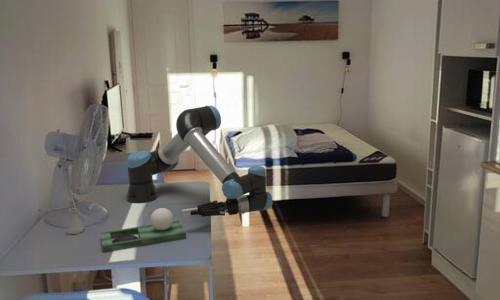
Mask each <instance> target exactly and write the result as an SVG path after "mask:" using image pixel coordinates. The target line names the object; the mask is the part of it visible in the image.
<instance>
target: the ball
mask: <svg viewBox="0 0 500 300" xmlns="http://www.w3.org/2000/svg"><path fill="white" fill-rule="evenodd" d="M173 221H174V215H173V213H172V211H170V209H168V208H165V207H160V208H157V209H155V210H154V211H153V212H152V214H151V215H150V223H151V224H150V225H152V226H153V227H154V228H155V229H157V230H166V229H168V228H169V227H170V226H171V225H172V223H173Z"/></svg>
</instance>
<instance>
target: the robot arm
mask: <svg viewBox="0 0 500 300" xmlns="http://www.w3.org/2000/svg"><path fill="white" fill-rule="evenodd" d="M175 122H176V123H175V125H176V126H175V127H176V131H177V133H176V134H175V135H174V136H173V137H172V138H171V139H170V140H169V141H168V142H167V143H164V144H161V145H160V146H159V147H157V149H156V150H154V151H149V150H140V151H139V150H137V151H134V152H131V153H130V154H129V155H128V156H127V160H126V167H127V172H128V174H127V175H128V185H129V186H128V189H127V191H126V192H127V194H126V200H127V202H130V203H134V204H138V203H140V204H141V203H142V204H143V203H147V202H152V201H154V200H156V199H157V198H158V197H159V196H158V191H157V188H156V186H155V184H154V181H153V179H154V177H153V176H154V175H155V176H156V175H158V174H163V173H166V172H169V171H172V170H174V169H175V168H176V167H177V166H178V165H179V160H180V159H179V157H180V156H181V155H182V154H183V153H184V152H185V151H187V149H188V148H189V147H191V149H192V150H193V151H194V152H195V153H196V155H198V158H200V159H201V160H202V161H203V163H204V165H206V166H207V168H208V169H209V170H210V171H211V172H212V173H213V174H214V176H215V177H216V178H217V179H218V180H219V181H220V183H221V192H222V193H223V196H224V197H225V198H226V200H225V201H219V202H218V200H217V199H216V200H214V201H210V202H205V203H202V204H197V206H196V207H191V208H186V209H181V217H182V218H187V217H193V216H200V217H202V218H203V217H216V216H218V217H219V216H222V217H224V216H226V213H227V214H228V215H229V216H234V215H238V214H243V215H244V214H247V213H253V212H259V211H265V210H269V209H271V208H272V206H273V202H274V201H273V197H272V193H270V192H269V191H267V172H266V168H265V167H264V166H262V165H253V166H250V167H248V169H247V174H244V175H239V174H238V173H237V172H236V170H235V169H234V168H233V167H232V166H231V165H230V163H228V161H227V160H226V159H225V157H223V156H222V154H221V153H220V152H219V151H218V149H217V148H216V147H215V146H214V145H213V144H212V142H211V141H210V140H209V138H207V137H206V136H207V135H208V134H209V133H210V132H212V131H216V130H218V129H220V127H221V124H222V117H221V113H220V112H219V110H218V109H217V107H215V106H213V105H205V106H200V107H194V108H187V109H184V110H183V111H182V112H180V114H179V115H178V116H177V118H176V121H175Z"/></svg>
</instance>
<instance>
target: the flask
mask: <svg viewBox="0 0 500 300" xmlns="http://www.w3.org/2000/svg"><path fill="white" fill-rule="evenodd" d="M77 210H78V208H73V207H72V208H69V209H68V212H69V219H68V220H69V221H68V224H67V228H66V232H65V234H67V235H79V234H81V233H84V231H85V227H84V225H83V223H82V222H81V220H80V218H79V216H78V213H77Z"/></svg>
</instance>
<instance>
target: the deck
mask: <svg viewBox="0 0 500 300" xmlns="http://www.w3.org/2000/svg"><path fill="white" fill-rule="evenodd" d="M137 235H138V236H137ZM100 238H101V245H102V253H108V252H114V251H119V250H120V251H121V250H125V249H132V248H137V247H143V246H144V247H145V246H149V245H150V246H151V245H155V244H161V243H166V242H167V243H168V242H173V241H178V240H184V239H187V233H186V231H185V229H184V227H183V226H182V223H181V222H180V220H173V223H172V225H171V226H170V227H169V228H168V229H166V230H157V229H155V228H154V227H153V226H152V224H149V225H141V226H136V227H135V226H134V227H128V228H124V229H123V228H122V229H115V230H109V231H103V232H100Z"/></svg>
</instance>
